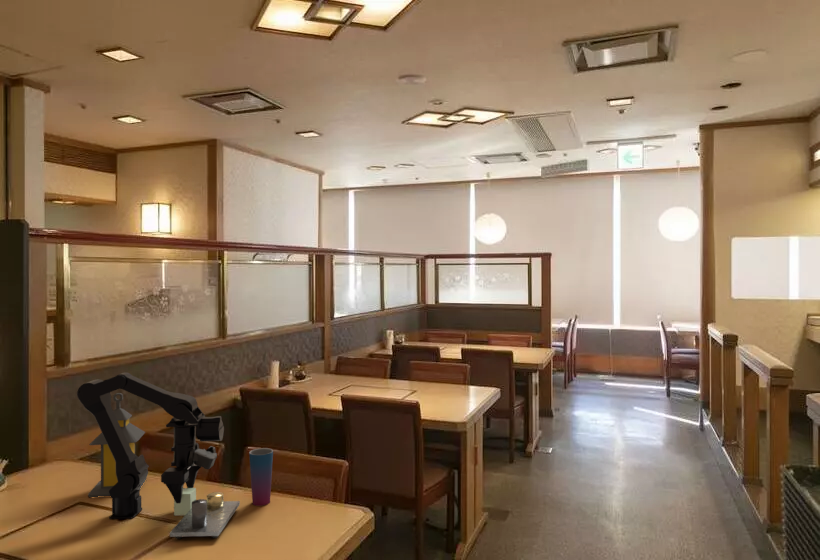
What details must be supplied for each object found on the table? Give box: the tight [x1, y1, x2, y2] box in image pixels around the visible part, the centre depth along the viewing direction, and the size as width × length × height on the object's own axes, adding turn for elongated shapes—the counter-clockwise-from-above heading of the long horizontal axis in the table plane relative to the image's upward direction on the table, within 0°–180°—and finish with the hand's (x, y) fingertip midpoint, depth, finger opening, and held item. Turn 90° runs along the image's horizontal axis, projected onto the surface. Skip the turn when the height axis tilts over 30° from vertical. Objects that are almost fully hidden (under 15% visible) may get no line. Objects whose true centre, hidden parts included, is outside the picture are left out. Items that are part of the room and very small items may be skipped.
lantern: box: [87, 392, 148, 497], centre depth 180 cm, size 14×14×30 cm
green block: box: [173, 487, 197, 516], centre depth 160 cm, size 4×4×6 cm
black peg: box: [192, 498, 207, 528], centre depth 146 cm, size 4×4×6 cm
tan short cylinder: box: [206, 491, 224, 509], centre depth 159 cm, size 4×4×3 cm
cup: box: [248, 447, 274, 507], centre depth 167 cm, size 7×7×15 cm
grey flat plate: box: [169, 500, 241, 540], centre depth 152 cm, size 12×20×2 cm, turn 2°
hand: (184, 496), depth 160 cm, fingers open, 9 cm apart
